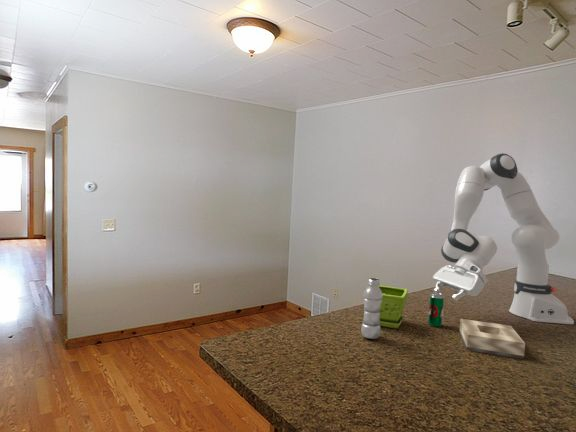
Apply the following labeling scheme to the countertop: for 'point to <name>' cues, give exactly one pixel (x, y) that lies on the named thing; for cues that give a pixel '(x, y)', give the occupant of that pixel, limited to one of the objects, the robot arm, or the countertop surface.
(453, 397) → the countertop surface
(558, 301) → the robot arm
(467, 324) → the can holder
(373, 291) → the plastic bottle
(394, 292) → the flower pot
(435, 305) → the soda can
